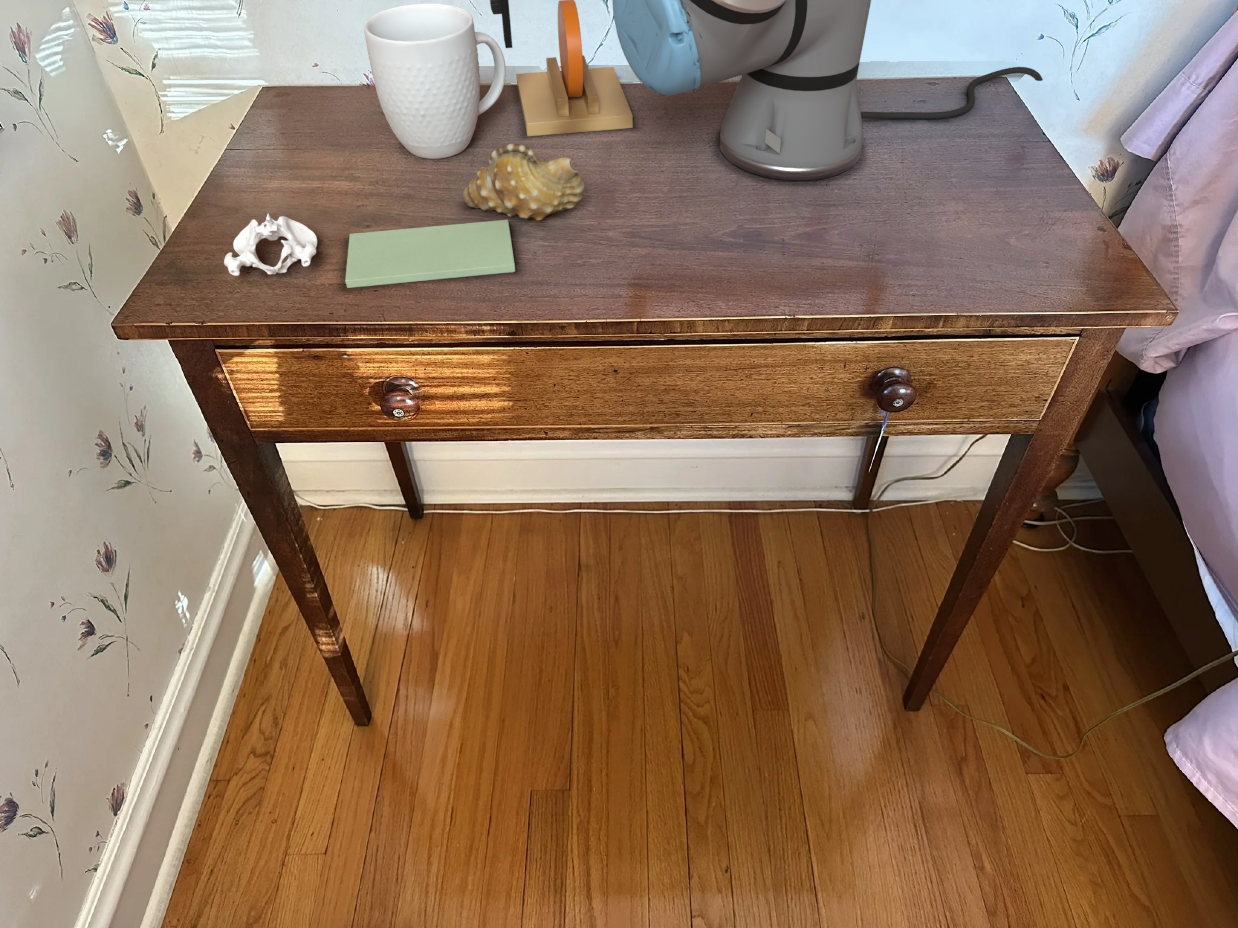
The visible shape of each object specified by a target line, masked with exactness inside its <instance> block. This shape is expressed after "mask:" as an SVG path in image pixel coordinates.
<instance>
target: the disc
mask: <svg viewBox="0 0 1238 928" xmlns="http://www.w3.org/2000/svg"><path fill="white" fill-rule="evenodd" d="M581 33H582V32H581V25H580V18H579V13H578V7H577V4H576V1H575V0H558V3H557V38H558V51H559V61H560V71H562V79H563V83H564V86H565V90H566V93H567V97H568V98H571V97H581V96H582V92H583V57H582V55H583V45H582V44H583V43H582V34H581Z"/></svg>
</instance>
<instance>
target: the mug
mask: <svg viewBox="0 0 1238 928" xmlns="http://www.w3.org/2000/svg"><path fill="white" fill-rule="evenodd" d="M363 32H364V38H365V43H366V50H367V55H368V60H369V65H370V70H371V74H372V79H373V83H374V87H375V92H376V95H377V100H378V101H379V105H380V108H381V110H382V113H383V114H384V117H385V120H386V122H387V124H388V125H389V127H390V129H391V131H392V132H393V134H394V135H395V138H396V139H397V140H398V141H399V142H400V143H401V145H402V146H403V147H404V148H405V149H406V151H408V152H409V153H410V154H412V155H414V156H416V157H418V158H422V159H429V160H440V159H446V158H450V157H453V156H455V155H458V154H460V153H462V152H464V151H465V150H466V149H467V147H468V146H469V145H470V143H471V140H472V138H473V136H474V133H475V130H476V126H477V123H478V119H479V118H478V116H480V115H481V114H483V113H485V112H486V111H487V110H489V109H490V108H491V107H492V106H493V105H495V103H496V102H497V101H498V99H499V98H500V96H501V94H502V93H503V92H502V91H503V89H504V85H505V82H506V74H507V73H506V70H507V69H506V61H505V56H504V53H503V51H502V49H501V47H500V45H499V43H498V42H497V41H496V40H495V39H494V38H493V37H492V36H491V35H489V34H487V33H484V32H481V31H476V30H475V22H474V18H473V15H472V14H471V13H470V12H469V11H467V10H466V9H464V8H462V7H459V6H456V5H451V4H444V3H433V2H432V3H426V2H425V3H412V4H404V5H399V6H398V5H397V6H394V7H391V8H387V9H385V10H381V11H379V12H377V13H375V14H373V15H371V16H369V17H368V19H366V21H365V22H364V24H363ZM480 44H485V45H486V46H487V47H488V49H489V50H490V53H491V55H492V58H493V65H494V68H493V69H494V71H493V79H492V82H491V85H490V87H489V90H487V93H486V94H485V95H484V97H483V98H481V95H480V93H481V88H480V87H481V81H480V80H481V75H480V61H479V52H478V47H477V46H478V45H480Z"/></svg>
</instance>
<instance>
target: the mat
mask: <svg viewBox="0 0 1238 928" xmlns="http://www.w3.org/2000/svg"><path fill="white" fill-rule="evenodd" d="M515 272H516V265H515V258H514V251H513V243H512V237H511V230H510V224H509V219H499V220H487V221H478V222H477V221H476V222H466V223H456V224H455V223H454V224H445V225H444V224H443V225H434V226H433V225H432V226H422V227H412V228H410V227H409V228H400V229H388V230H377V231H366V232H359V233H358V232H357V233H356V232H355V233H349V237H348V247H347V260H346V269H345V280H344V282H345V285H346V289H353V288H363V287H373V286H385V285H393V284H403V283H405V284H406V283H415V282H423V281H424V282H425V281H436V280H446V279H455V278H466V277H476V276H487V275H496V274H497V275H498V274H507V273H508V274H509V273H515Z"/></svg>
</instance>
